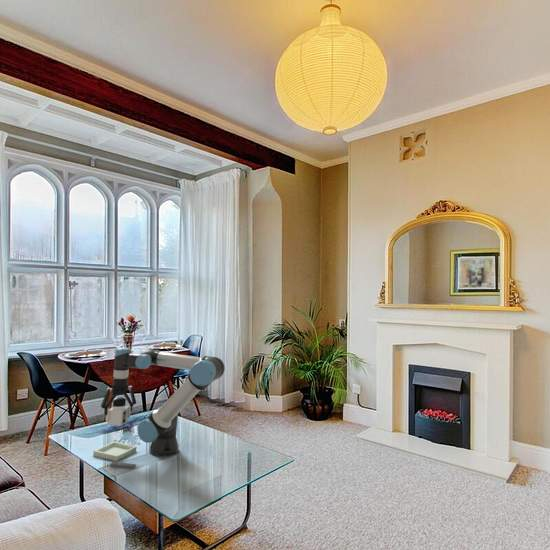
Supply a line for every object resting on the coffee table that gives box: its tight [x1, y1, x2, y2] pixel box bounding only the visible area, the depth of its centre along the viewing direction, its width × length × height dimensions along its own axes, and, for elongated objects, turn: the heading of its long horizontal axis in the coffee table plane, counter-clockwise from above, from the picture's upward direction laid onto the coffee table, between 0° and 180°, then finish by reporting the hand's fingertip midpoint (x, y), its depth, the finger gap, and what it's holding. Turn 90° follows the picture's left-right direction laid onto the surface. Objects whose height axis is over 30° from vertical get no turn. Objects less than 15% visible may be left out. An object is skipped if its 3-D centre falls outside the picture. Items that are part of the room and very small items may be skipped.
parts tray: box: [92, 441, 137, 462], centre depth 216 cm, size 15×15×2 cm
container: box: [107, 396, 129, 427], centre depth 217 cm, size 8×8×13 cm
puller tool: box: [109, 461, 137, 470], centre depth 201 cm, size 12×2×2 cm, turn 86°
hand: (117, 419), depth 217 cm, fingers closed on container, 10 cm apart
